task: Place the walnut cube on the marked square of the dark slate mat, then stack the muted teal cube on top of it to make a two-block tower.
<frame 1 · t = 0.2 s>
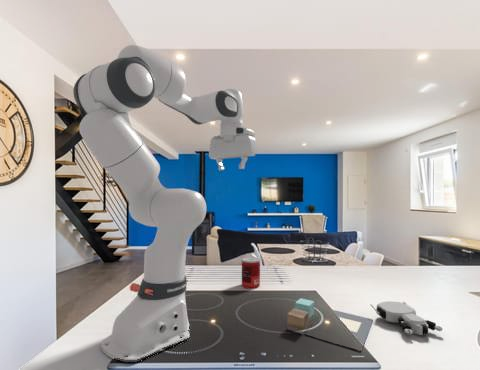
hand: (231, 169, 100), 48 cm above the counter, tool pointing down, fingers open, 8 cm apart
robot toy: (404, 326, 77), on the counter
mat: (340, 327, 75), on the counter
walnut block: (297, 329, 74), on the counter
canned food: (250, 286, 111), on the counter
teal block: (304, 316, 82), on the counter
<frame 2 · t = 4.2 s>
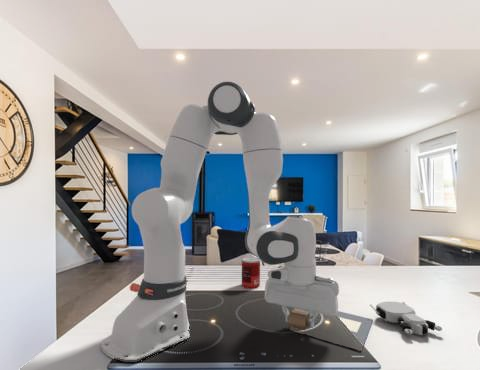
hand: (299, 323, 74), 2 cm above the counter, tool pointing down, fingers open, 5 cm apart
walnut block: (299, 329, 74), on the counter, touching gripper, mat
everything else where it was.
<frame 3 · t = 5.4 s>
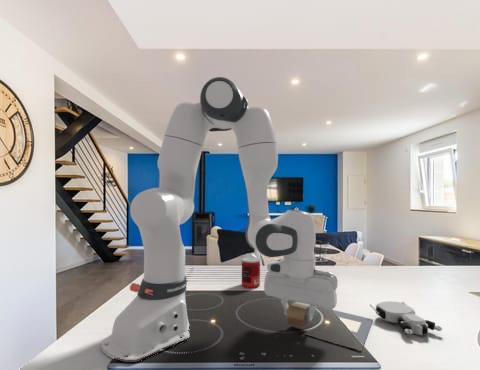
hand: (298, 317, 74), 3 cm above the counter, tool pointing down, fingers closed on walnut block, 5 cm apart
walnut block: (298, 322, 74), point 2 cm above the counter, touching gripper
everything else where it was.
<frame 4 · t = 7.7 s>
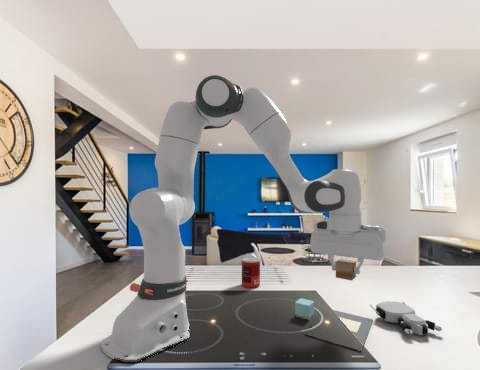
hand: (345, 271, 77), 15 cm above the counter, tool pointing down, fingers closed on walnut block, 5 cm apart
walnut block: (345, 277, 77), point 14 cm above the counter, touching gripper
everything else where it was.
when the fingers open (2 cm above the counter, at t = 10.3 s): walnut block stays where it is, resting on mat.
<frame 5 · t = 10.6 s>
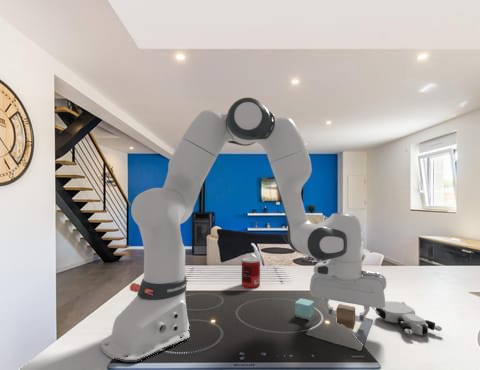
hand: (345, 317, 76), 2 cm above the counter, tool pointing down, fingers open, 7 cm apart
walnut block: (346, 323, 77), resting on mat
everything else where it was.
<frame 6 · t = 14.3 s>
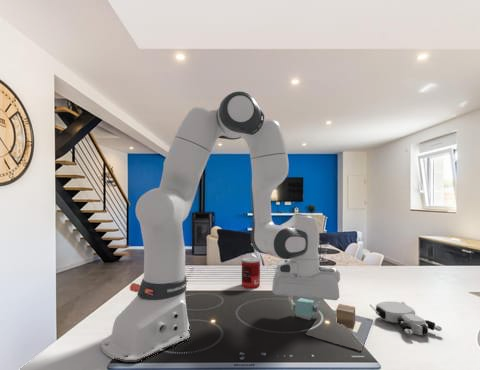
hand: (304, 310, 82), 2 cm above the counter, tool pointing down, fingers closed on teal block, 5 cm apart
teal block: (304, 316, 82), on the counter, touching gripper
everything else where it was.
when the fingers open (7 cm above the counter, at t = 20.0 s): teal block stays where it is, resting on walnut block.
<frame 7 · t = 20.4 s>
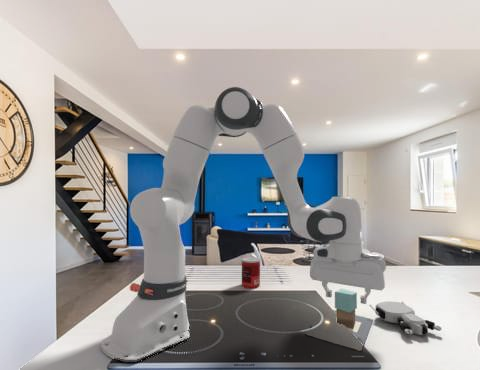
hand: (345, 299, 77), 7 cm above the counter, tool pointing down, fingers open, 8 cm apart
walnut block: (346, 323, 77), resting on mat, touching teal block
teal block: (345, 308, 77), point 5 cm above the counter, touching walnut block
everything else where it was.
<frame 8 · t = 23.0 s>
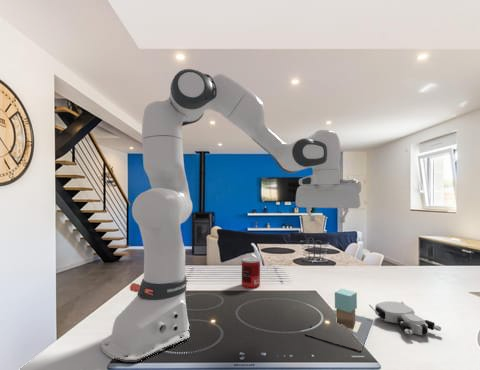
hand: (326, 221, 87), 29 cm above the counter, tool pointing down, fingers open, 8 cm apart
nothing on the counter moved.
at the end: walnut block inside the target area (0.1 cm from its centre), resting on mat; teal block 0.1 cm off-centre on the walnut block, point 4.5 cm above the walnut block's base; the gripper is holding nothing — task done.
